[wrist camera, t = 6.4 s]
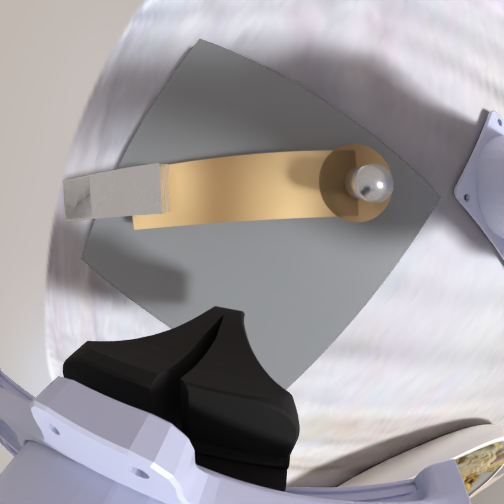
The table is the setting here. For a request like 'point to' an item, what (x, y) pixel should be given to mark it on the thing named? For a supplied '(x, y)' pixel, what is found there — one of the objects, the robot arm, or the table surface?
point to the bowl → (445, 458)
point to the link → (266, 188)
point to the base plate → (258, 231)
